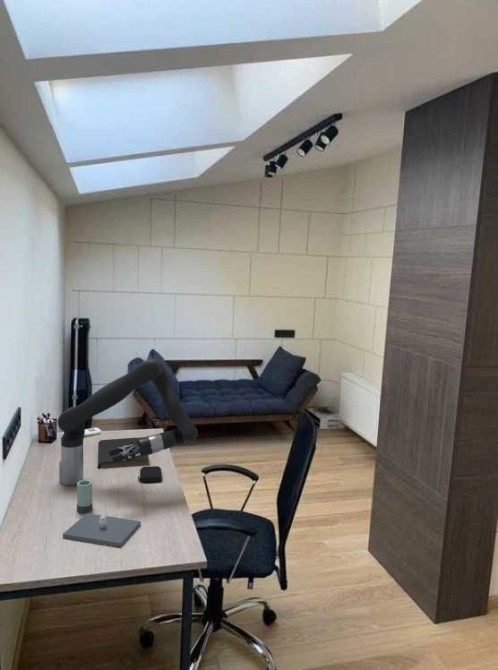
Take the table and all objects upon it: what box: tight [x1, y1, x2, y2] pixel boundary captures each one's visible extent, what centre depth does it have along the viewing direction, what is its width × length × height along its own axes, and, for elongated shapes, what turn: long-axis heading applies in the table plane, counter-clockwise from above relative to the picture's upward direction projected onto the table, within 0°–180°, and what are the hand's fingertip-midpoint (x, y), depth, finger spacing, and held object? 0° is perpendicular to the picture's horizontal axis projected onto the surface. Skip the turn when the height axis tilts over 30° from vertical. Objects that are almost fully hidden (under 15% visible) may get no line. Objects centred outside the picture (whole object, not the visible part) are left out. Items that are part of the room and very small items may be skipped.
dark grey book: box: [97, 436, 150, 469], centre depth 257 cm, size 33×4×24 cm
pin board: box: [62, 512, 141, 548], centre depth 181 cm, size 22×16×6 cm
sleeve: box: [76, 479, 93, 514], centre depth 197 cm, size 6×6×11 cm
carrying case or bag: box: [137, 465, 163, 484], centre depth 231 cm, size 11×3×15 cm
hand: (111, 456), depth 200 cm, fingers open, 8 cm apart
